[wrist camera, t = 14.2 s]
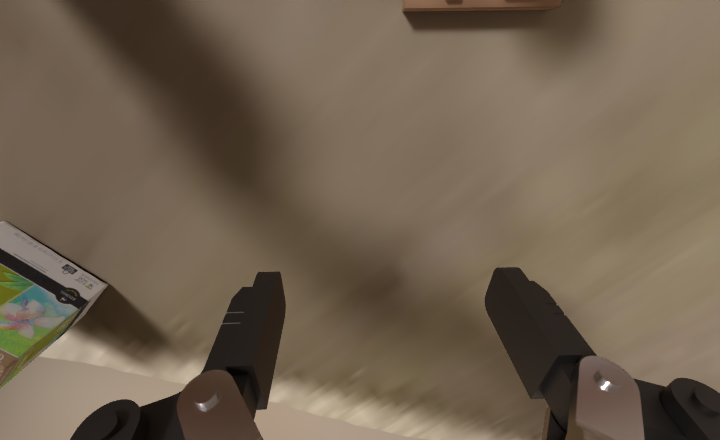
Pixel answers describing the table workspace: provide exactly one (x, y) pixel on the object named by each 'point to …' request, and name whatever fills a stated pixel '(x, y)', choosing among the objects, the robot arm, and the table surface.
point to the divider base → (478, 5)
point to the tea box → (37, 298)
